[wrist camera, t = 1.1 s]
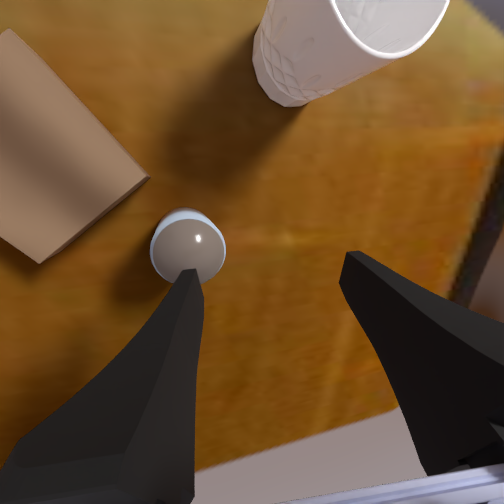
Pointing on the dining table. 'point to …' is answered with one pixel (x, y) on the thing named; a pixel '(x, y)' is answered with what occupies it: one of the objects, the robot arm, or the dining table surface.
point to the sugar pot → (187, 245)
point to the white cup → (335, 42)
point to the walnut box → (53, 157)
